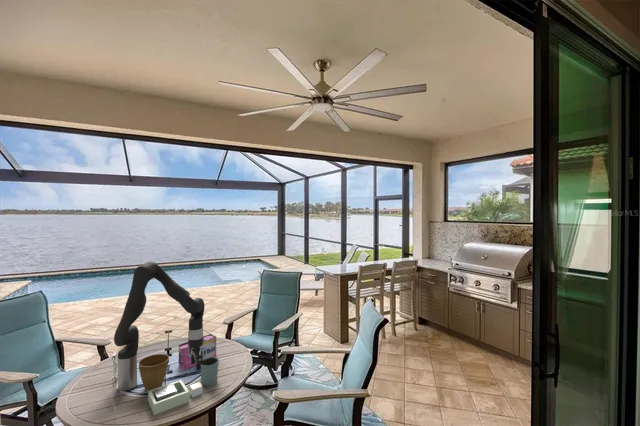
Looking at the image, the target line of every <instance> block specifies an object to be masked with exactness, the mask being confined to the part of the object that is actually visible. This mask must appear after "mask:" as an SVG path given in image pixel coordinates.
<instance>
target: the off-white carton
mask: <svg viewBox="0 0 640 426" xmlns="http://www.w3.org/2000/svg"><path fill="white" fill-rule="evenodd" d="M189 395H190V397H192V398H195V397H198V396H200V395H203V385H202V383H201V381H198V382H196V383H193V384H190V385H189Z"/></svg>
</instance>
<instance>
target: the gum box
mask: <svg viewBox="0 0 640 426" xmlns="http://www.w3.org/2000/svg"><path fill="white" fill-rule="evenodd" d="M200 349H201V351H202V355H203V359H206V358H210V357H215V358H217V336H215V335H214V334H210V333H209V334H206V335H203V345H202V346H201V347H200ZM189 353H190V347H189V346H188V341H186V342H183V343H180V344H179V345H178V367H179V368H181V369H183V370H184V371H185V370H187V369H190V368H192V367H194V366H196V363H195V364H191V355H190V354H189ZM196 357H197V356H196ZM199 360H200V359H199Z"/></svg>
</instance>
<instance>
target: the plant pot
mask: <svg viewBox="0 0 640 426" xmlns="http://www.w3.org/2000/svg"><path fill="white" fill-rule="evenodd" d="M169 361H170V356H169V355H168V354H165V353H157V354H152V355H148V356H146V357H144V358H142V359H140V360H139V361H138V362H137V365H138V371H139V374H140V379H141V382H142V385H143V387H144V389H145V391H146V392H148V391H150V390H153V389H156V388H159V387H162V386H163V385H164V380H165V378H166V374H167V370H168V367H169Z"/></svg>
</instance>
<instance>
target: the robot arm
mask: <svg viewBox="0 0 640 426" xmlns="http://www.w3.org/2000/svg"><path fill="white" fill-rule="evenodd" d="M132 276H133V277H132V282H131V287H130V290H129V294H128V298H127V300H126V302H125V306H124V309H123V312H122V316H121V319H120V322H119V323H118V325H117V327H116V330H115V332H114V335H113V343H114V344H115V346H117V347H122V348H121V349H120V350H119V351H118V353H117V390H118V391H121V392H123V391H124V392H125V391H128V390H131V389H133V388H135V387H136V386H137V385H138V350H139V340H140V335H139V334H140V331H139V329H138V327H137V326H136V325H134V322H136V321H137V320H138V319H139V317H140V316H141V315H142V314H143V312H144V311H145V309H146V308H145V307H146V305H147V296H146V289H147V286H148V283H149V282H150V281H151V280H154V279H155V280H157V281H158V282H159V283H160V284H161V285H162V286H163V288H164V290H165V292H166V293H167V295H168V296H169V297H170V298H171V299H173V300H174V301H175V302H177V303H179V304H180V306H181V307H182V308H183V309H184V310H185V311H186V313H188V314H190V318H189V319H188V333H187V336H188V337H187V342H188V346H189V347H190V353H189V354H190V355H191V364H195V363H196V365H195V370H196V371H201V363H202V362H203V355H202V351H201V349H200V347H201V346H202V345H203V336H204V326H203V325H204V322H203V321H204V319H203V318H204V312H205V300H204V299H203V298H201V297H195V298H194V299H193V297H191V293H190V292H189V291H188V290H187V289H185V288H184V287H183V286H181V285H180V284H178V283H177V281H175V280H174V279H172V277H171V276H170V275H169V274H168V273H167V272H166V271H165V270H164V269H163V268H162V267H161V266H160V265H159V264H158V263H156V262H154V261H152V260H151V261H146V262H145V263H142V264H140V265H139V266H137V267H136V268H135V269H134V272H133V275H132ZM132 324H133V325H132ZM196 356H197V357H196ZM199 359H200V360H199Z"/></svg>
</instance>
